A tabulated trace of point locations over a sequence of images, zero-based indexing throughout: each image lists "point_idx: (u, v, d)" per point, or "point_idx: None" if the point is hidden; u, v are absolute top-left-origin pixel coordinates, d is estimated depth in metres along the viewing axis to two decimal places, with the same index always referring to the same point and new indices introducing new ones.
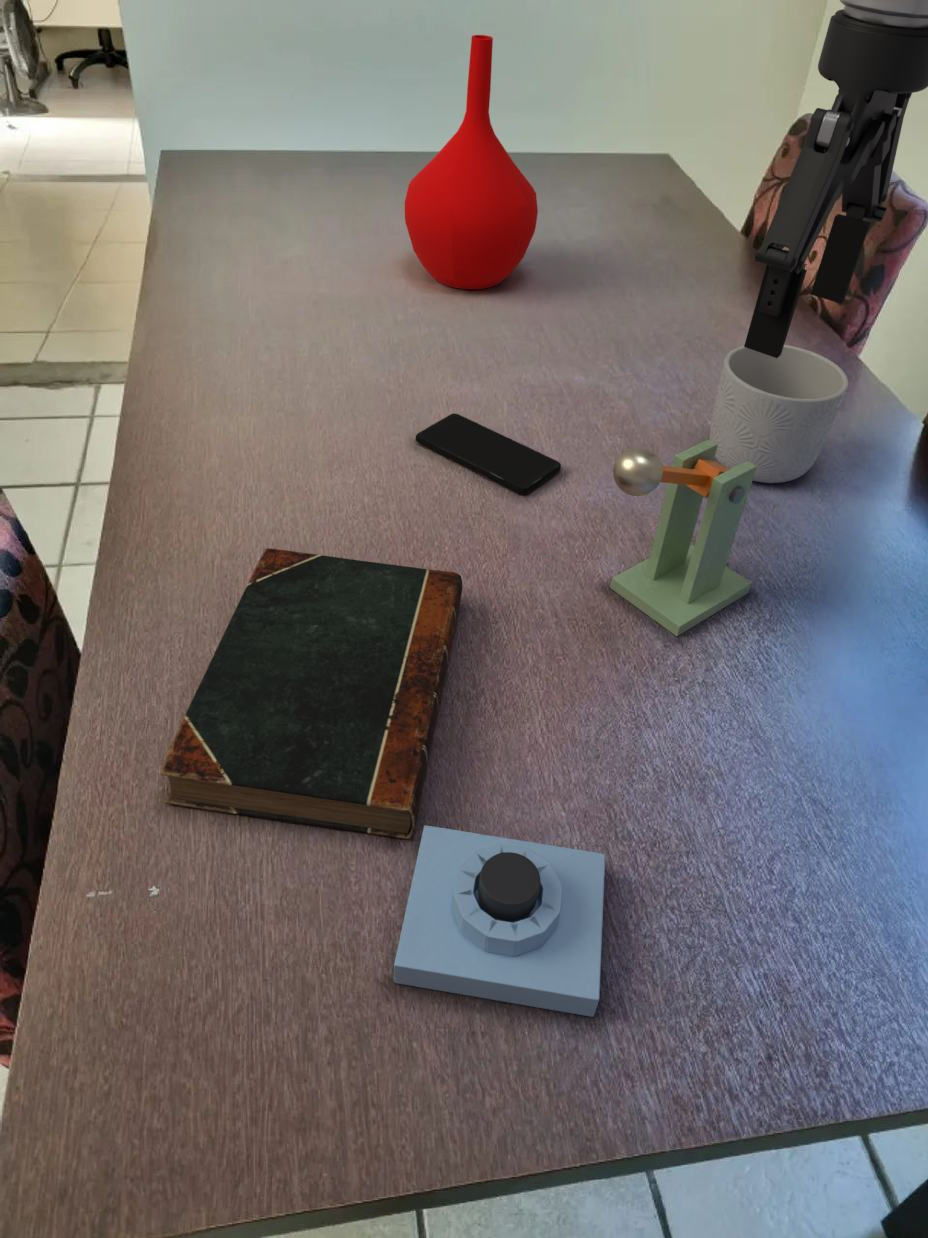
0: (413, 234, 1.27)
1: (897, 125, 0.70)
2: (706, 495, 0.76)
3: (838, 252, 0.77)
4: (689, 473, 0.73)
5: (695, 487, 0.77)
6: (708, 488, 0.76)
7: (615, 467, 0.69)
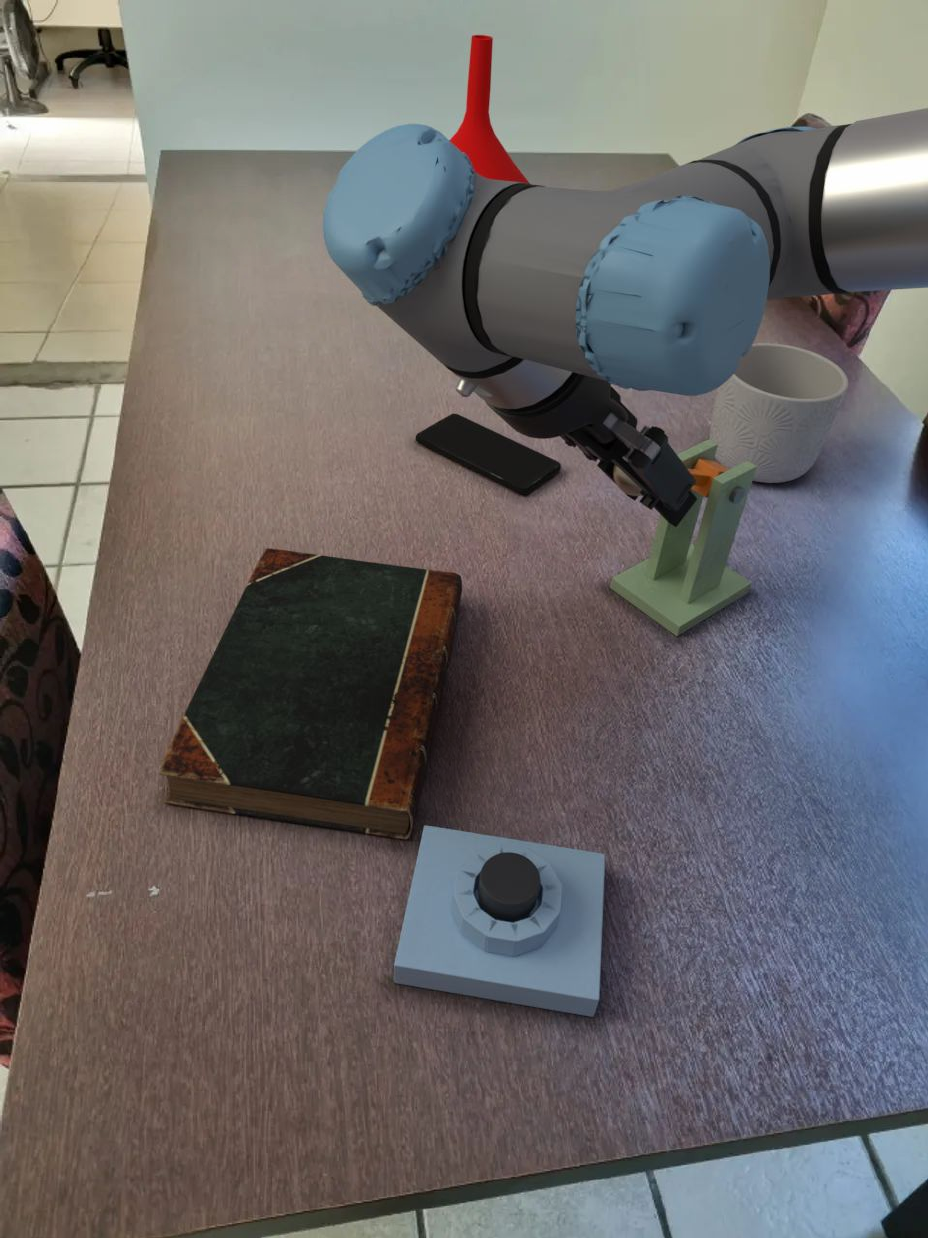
0: None
1: None
2: (706, 495, 0.76)
3: None
4: None
5: (695, 487, 0.77)
6: (708, 488, 0.76)
7: (615, 467, 0.69)
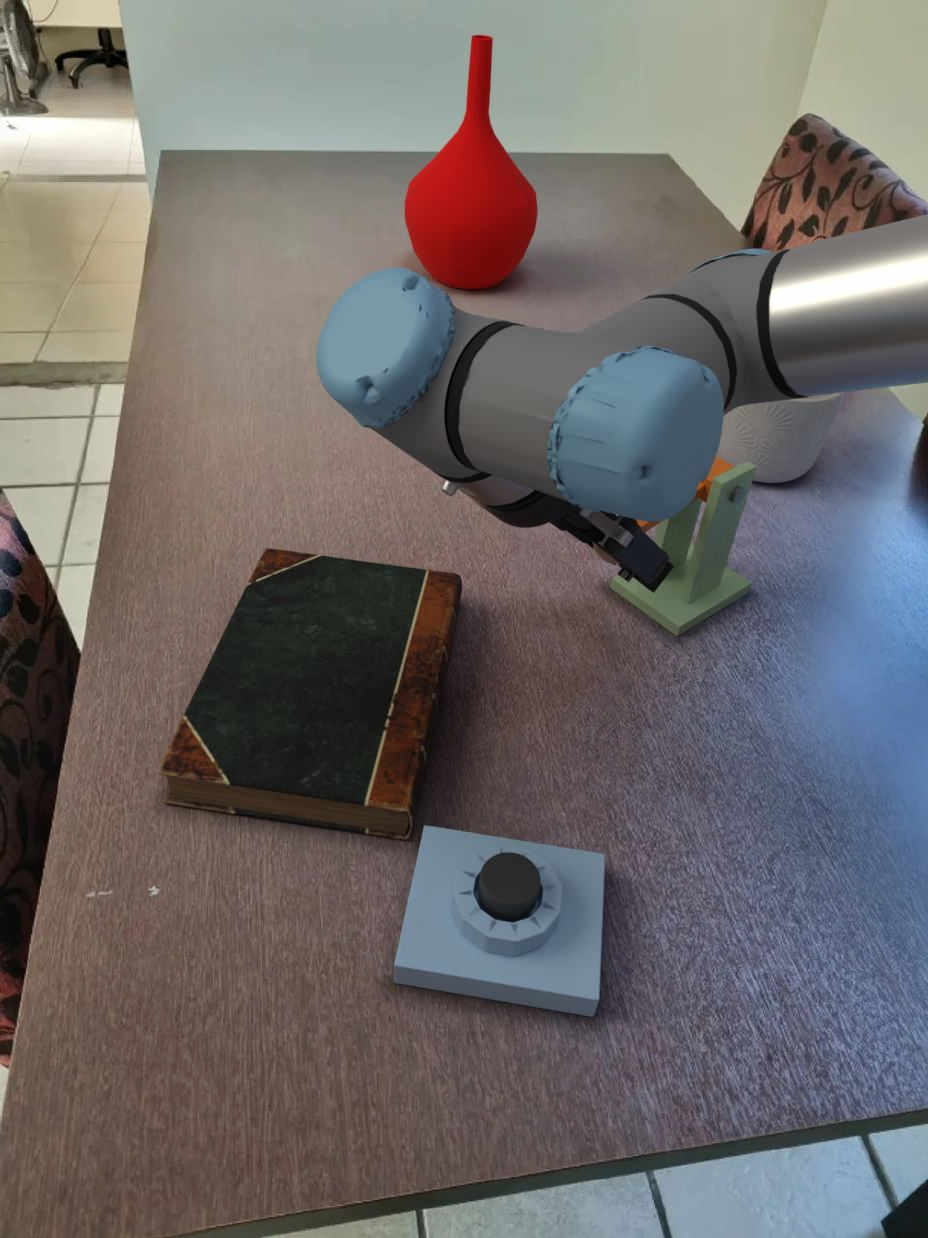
0: (413, 234, 1.27)
1: None
2: None
3: None
4: None
5: None
6: (707, 496, 0.76)
7: (593, 545, 0.73)
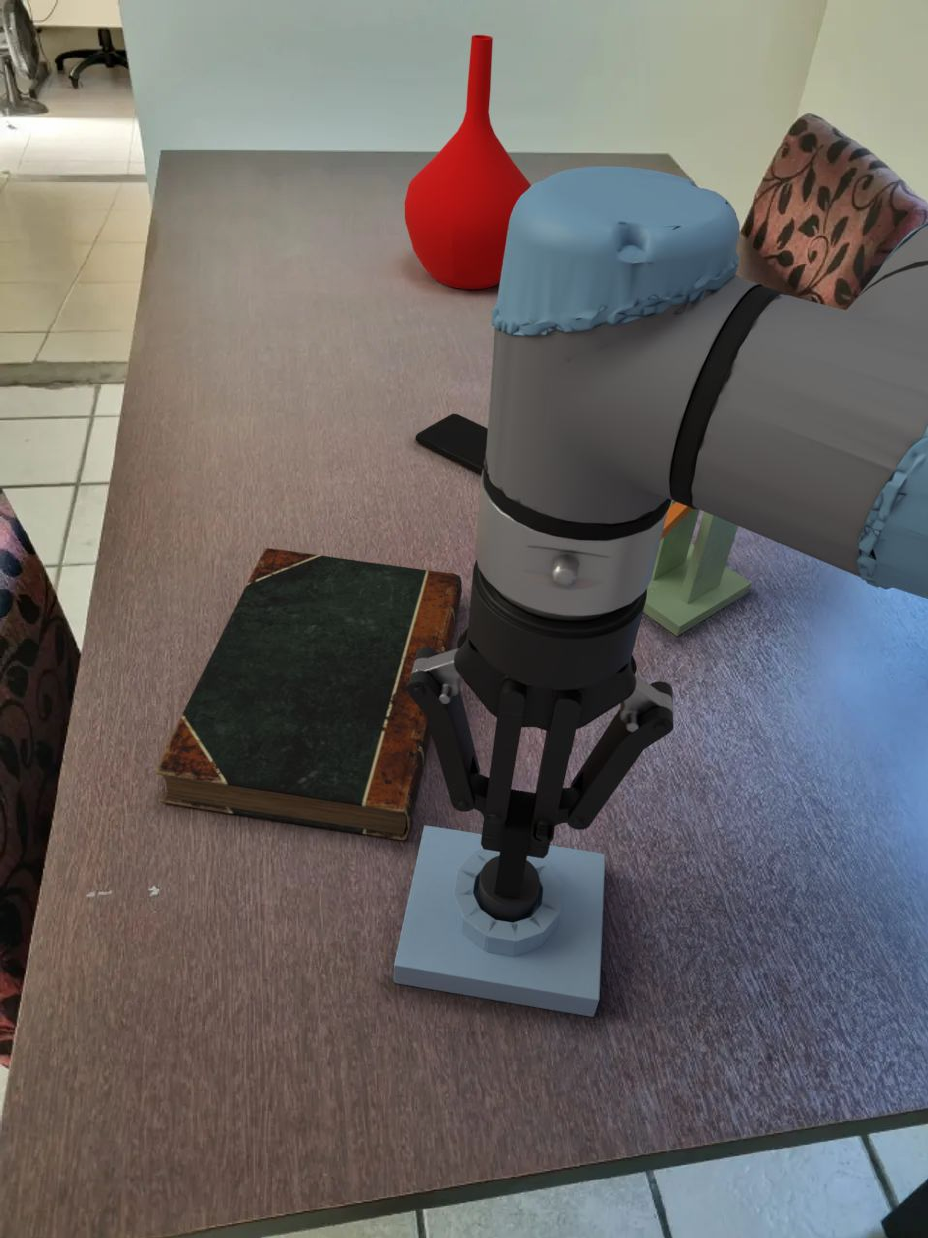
0: (413, 234, 1.27)
1: None
2: None
3: None
4: (676, 516, 0.76)
5: None
6: None
7: None
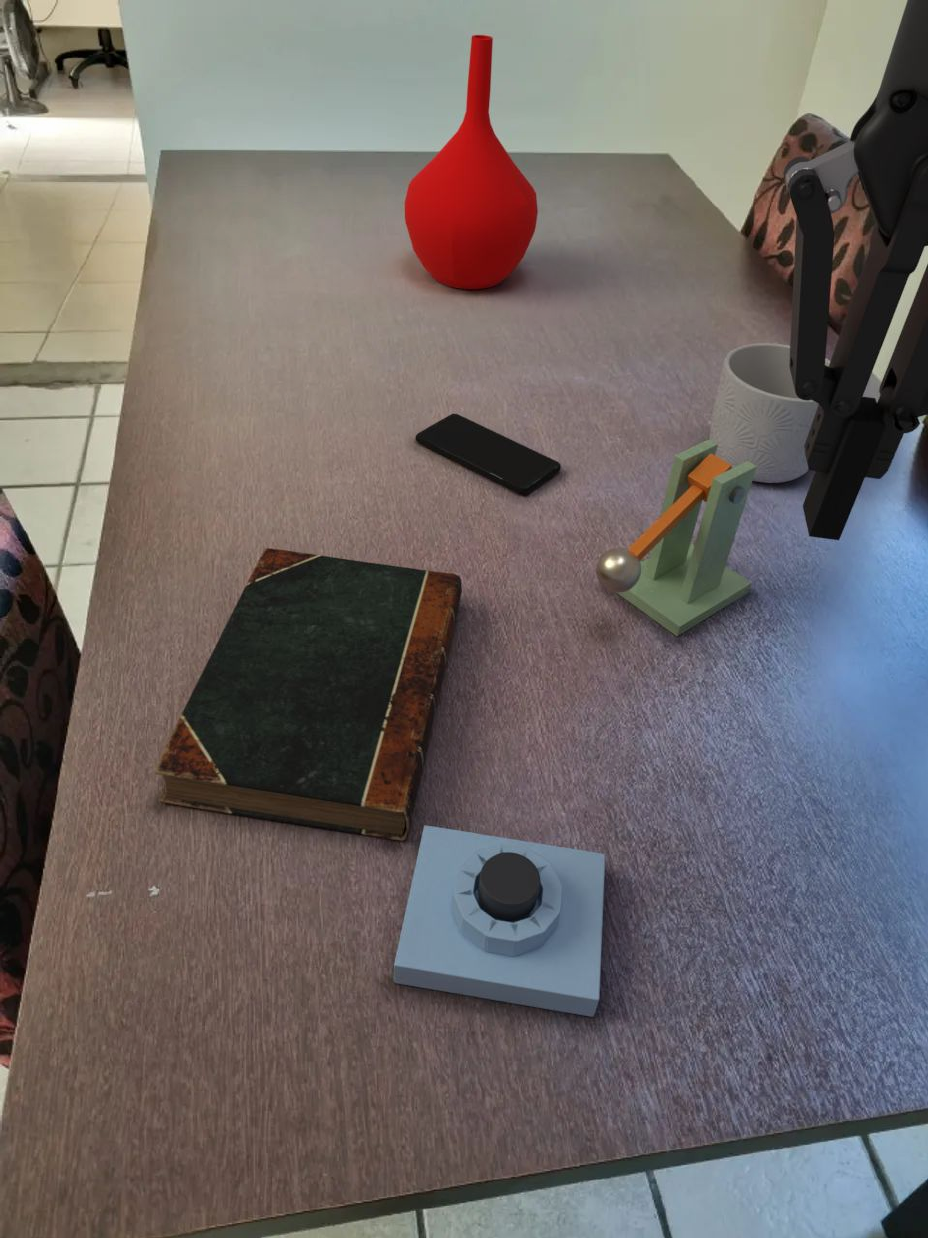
0: (413, 234, 1.27)
1: None
2: None
3: None
4: (676, 516, 0.76)
5: None
6: None
7: None
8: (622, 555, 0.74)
